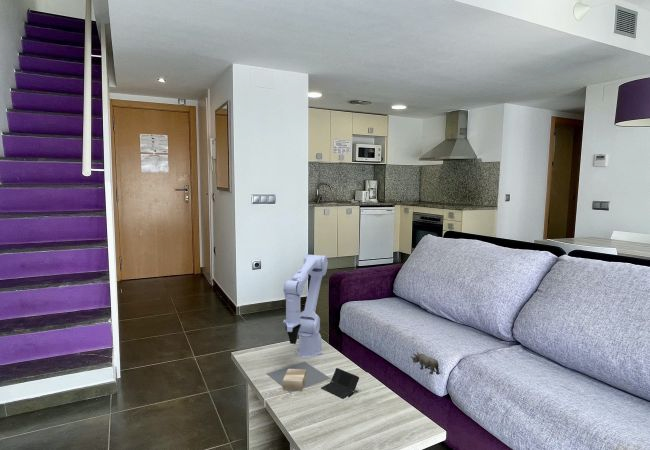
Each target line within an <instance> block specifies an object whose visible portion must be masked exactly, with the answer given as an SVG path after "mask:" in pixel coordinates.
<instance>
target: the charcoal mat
mask: <svg viewBox="0 0 650 450" xmlns="http://www.w3.org/2000/svg"><path fill="white" fill-rule="evenodd" d="M288 369H300V370H306V381H305V384H304V387H303V389H306V388H308V387H311V386H314V385H317V384H319V383H322V382H325V381H328V380H332V378H331V377H330V376H328V375H327V374H325V373H323V372H322V371H321V370H319V369H318V368H316V367H314V366H312V365H311V364H309V363H308V362H306V361H302V362H298V363H296V364H293V365H289V366H287V367H282V368H280V369H277V370H276V369H275V370H273V371H270V372H266V373H265V374H266V375H267V376H268V377H269V378H271V379H272V380H273V381H275V382H276V383H277V384H278V385H279V386H281V387H282V388H283V379H284V377H285V375H286V372H287V370H288ZM286 391H287V392H288V393H290V394H291V393H294V392H297V390H286Z"/></svg>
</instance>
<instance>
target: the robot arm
mask: <svg viewBox="0 0 650 450" xmlns="http://www.w3.org/2000/svg"><path fill="white" fill-rule="evenodd" d="M328 261H329V260H328V257H327V255H321V254H320V255H319V254H309V253H308V254H305V255H304V257H303V265H302V267H301V269H298V270H296V272H295V273H294V274H293V275H292V277H291V279H288V280H286V281H285V282H284V283H283V288H282V291H283V294H284V299H285V319H283V321H282V323H283V324H285V325H286V326H285V331H286V333H287V336H288V339H289V344H290V345H295V344H296V343H297V340H298V343H299V345H298V347H299V348H298V350H296V351H295V352H294V353H295V354H298V355H300V356H301V357H302V358H310V357H312V356H316V355H317V356H318V355H321V354H323V351H322V336H321V333H320V328H321V324H320V323H321V318H320V316H319V315H318V314H317V313H316V309H317V305H318V299H319V295H320V290H321V284H322V279H323V277H324V276H325V275H327V274H326V273H327V269H328V264H329V263H328ZM309 276H310V281H309V286H308V291H307V294H306V301H305V305H304V310H303V311H301V295H302V294H303V291H304V287H305V284H306V282H307V281H308V279H309ZM298 337H299V338H298Z"/></svg>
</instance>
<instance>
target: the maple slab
mask: <svg viewBox="0 0 650 450" xmlns="http://www.w3.org/2000/svg"><path fill="white" fill-rule="evenodd" d="M305 381H306V370H300V369H288V370H287V372H286V375H285V377H284V379H283V387H282V390H284V391H287V390H297V391H298V392H300V391H301V392H303V390H304V388H303V387H304V384H305ZM297 391H296V392H297Z"/></svg>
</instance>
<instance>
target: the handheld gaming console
mask: <svg viewBox="0 0 650 450" xmlns="http://www.w3.org/2000/svg"><path fill="white" fill-rule="evenodd" d="M333 372H334V373H333V375H332V378H331V379H330V382H329V383H327V384H325V385H323V386H322V387H320V389H321V390H323V391H325V392H327V393H330V394H331V395H333V396H336V397H337V398H339V399H341V400H344V399H346V398H351V397H352V396H354V395H355V390H356V388H357V386H358V383H359V380H360V377H359V376H358V375H356V374H354V373H351V372H348V371H346V370H343V369H341V368H338V367H336V368H335V370H334V371H333Z"/></svg>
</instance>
